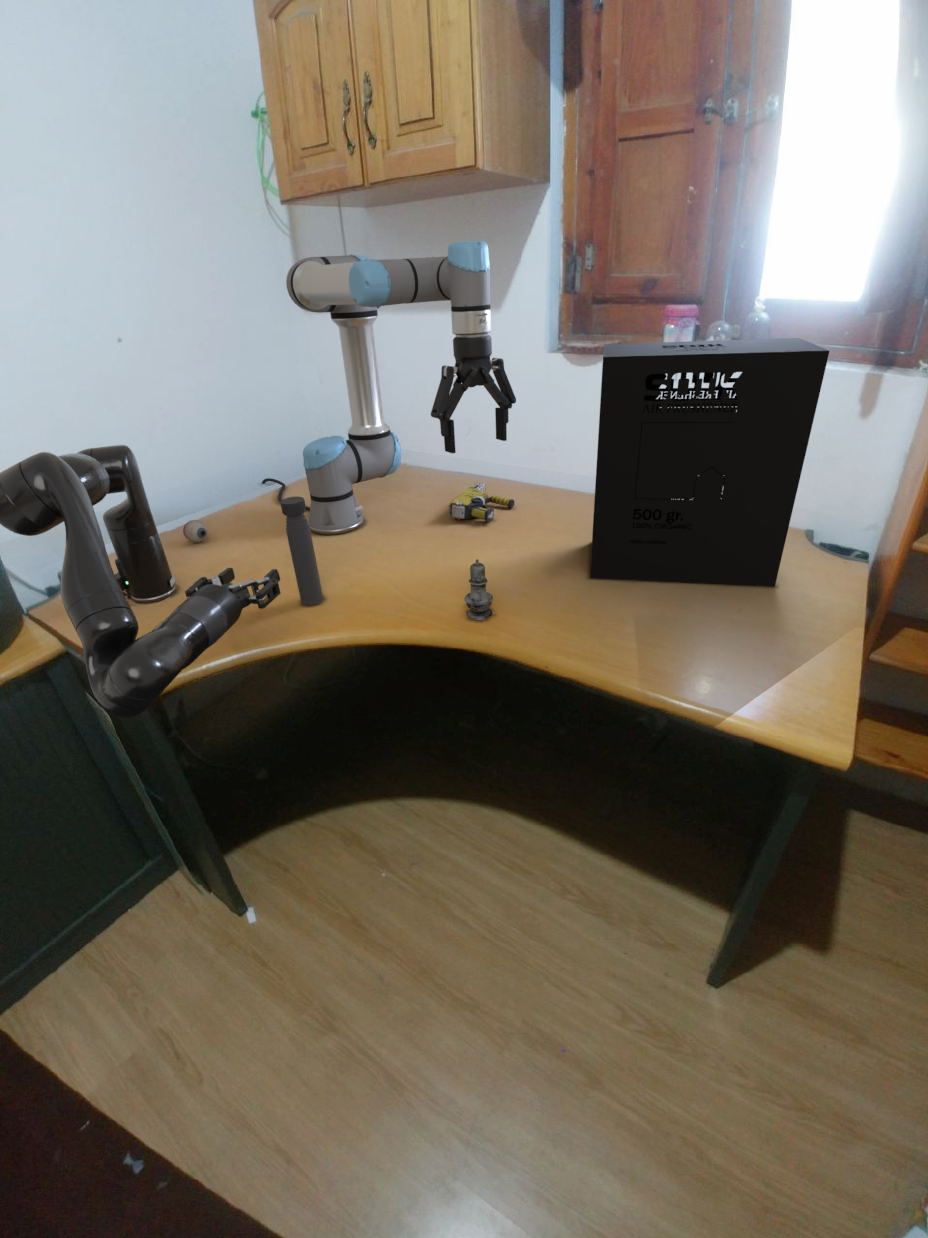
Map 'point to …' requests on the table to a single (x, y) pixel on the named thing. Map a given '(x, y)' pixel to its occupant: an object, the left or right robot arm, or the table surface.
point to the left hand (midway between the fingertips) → (254, 573)
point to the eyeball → (195, 531)
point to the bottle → (304, 560)
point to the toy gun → (476, 504)
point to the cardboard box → (701, 458)
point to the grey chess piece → (478, 594)
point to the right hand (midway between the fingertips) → (476, 445)
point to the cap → (293, 506)
